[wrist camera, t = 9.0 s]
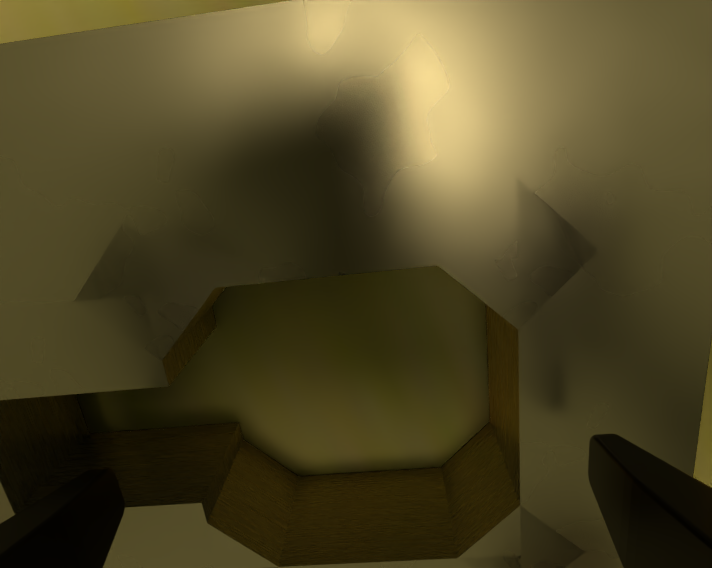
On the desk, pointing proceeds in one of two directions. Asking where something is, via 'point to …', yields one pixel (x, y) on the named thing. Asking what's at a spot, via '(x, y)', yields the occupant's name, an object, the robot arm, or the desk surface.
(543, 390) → the keyhole plate
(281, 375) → the desk surface
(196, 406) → the desk surface
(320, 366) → the desk surface
